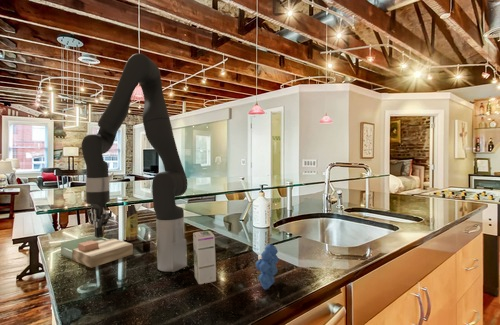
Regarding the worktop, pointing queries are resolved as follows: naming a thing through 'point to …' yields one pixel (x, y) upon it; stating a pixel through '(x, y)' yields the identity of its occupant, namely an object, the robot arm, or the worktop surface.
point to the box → (76, 244)
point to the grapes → (267, 266)
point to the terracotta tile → (88, 245)
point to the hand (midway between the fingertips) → (98, 236)
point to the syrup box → (204, 257)
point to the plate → (103, 253)
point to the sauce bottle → (132, 223)
